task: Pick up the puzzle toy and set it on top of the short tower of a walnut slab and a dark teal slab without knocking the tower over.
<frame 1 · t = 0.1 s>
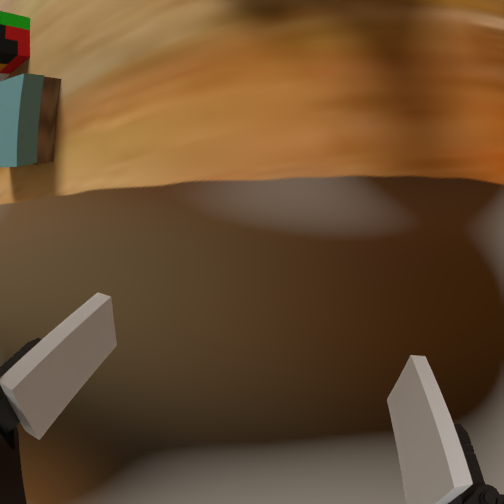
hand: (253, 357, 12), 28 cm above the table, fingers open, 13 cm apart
puzzle toy: (15, 50, 35), on the table
top block: (14, 122, 35), point 4 cm above the table
base block: (32, 122, 40), on the table
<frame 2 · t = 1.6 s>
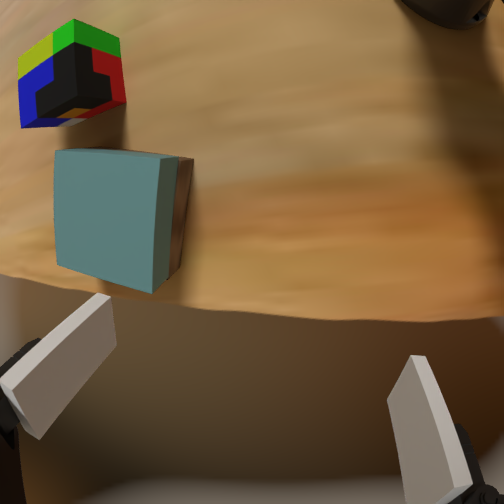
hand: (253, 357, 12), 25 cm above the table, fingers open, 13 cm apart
puzzle toy: (94, 82, 33), on the table
top block: (119, 210, 34), point 4 cm above the table, touching base block
base block: (138, 204, 38), on the table, touching top block
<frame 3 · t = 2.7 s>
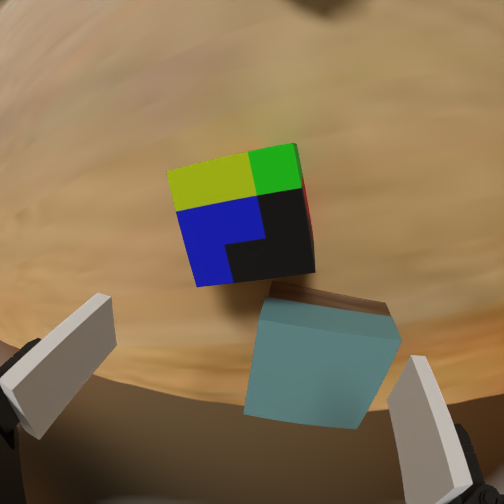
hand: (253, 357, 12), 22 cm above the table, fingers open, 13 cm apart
puzzle toy: (259, 198, 33), on the table
top block: (316, 358, 34), point 4 cm above the table, touching base block
base block: (316, 338, 38), on the table, touching top block
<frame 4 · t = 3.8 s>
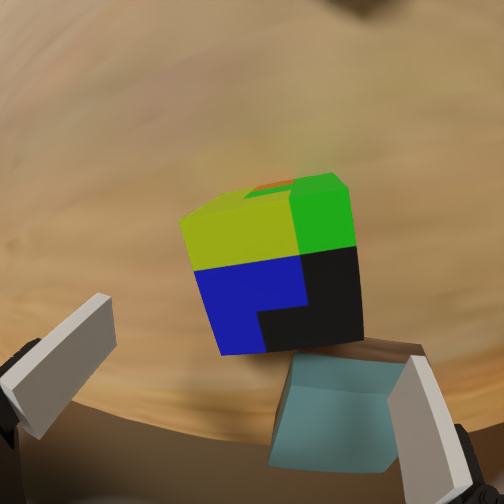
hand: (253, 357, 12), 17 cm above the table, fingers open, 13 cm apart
puzzle toy: (287, 236, 28), on the table
top block: (345, 408, 29), point 4 cm above the table, touching base block
base block: (344, 381, 33), on the table, touching top block
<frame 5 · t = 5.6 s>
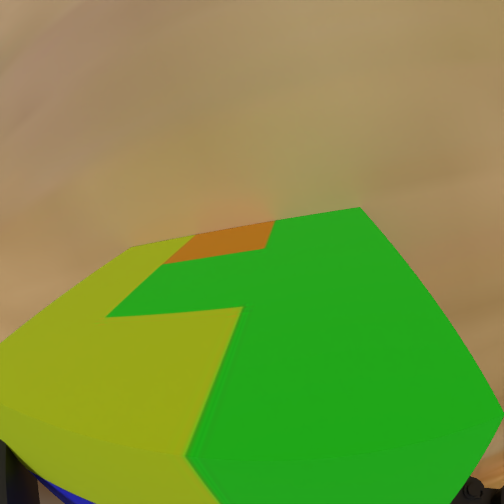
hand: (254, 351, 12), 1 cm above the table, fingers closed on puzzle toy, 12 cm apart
puzzle toy: (260, 330, 14), on the table, touching gripper
when the fingers open (12 cm above the table, at t = 11.8 s): puzzle toy drops 2 cm, resting on top block.
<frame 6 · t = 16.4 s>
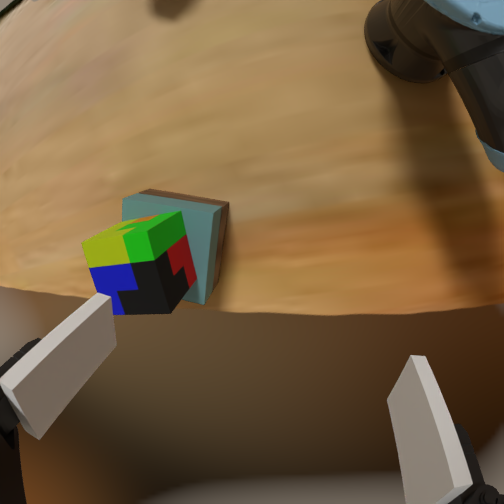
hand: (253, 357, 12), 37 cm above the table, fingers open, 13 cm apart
puzzle toy: (158, 249, 43), point 8 cm above the table, touching top block
top block: (174, 242, 47), point 4 cm above the table, touching base block, puzzle toy
base block: (184, 234, 52), on the table, touching top block
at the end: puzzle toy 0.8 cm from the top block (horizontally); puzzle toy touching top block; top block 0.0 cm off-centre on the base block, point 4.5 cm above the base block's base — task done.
